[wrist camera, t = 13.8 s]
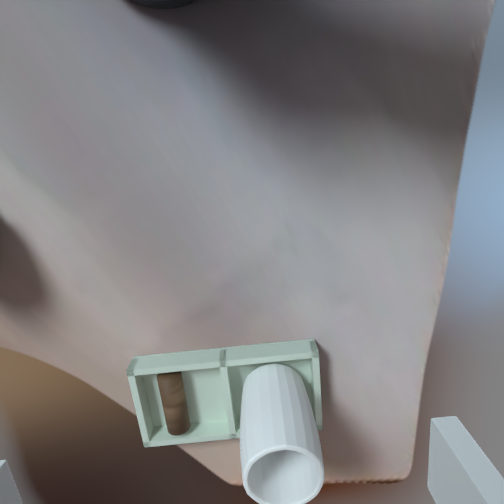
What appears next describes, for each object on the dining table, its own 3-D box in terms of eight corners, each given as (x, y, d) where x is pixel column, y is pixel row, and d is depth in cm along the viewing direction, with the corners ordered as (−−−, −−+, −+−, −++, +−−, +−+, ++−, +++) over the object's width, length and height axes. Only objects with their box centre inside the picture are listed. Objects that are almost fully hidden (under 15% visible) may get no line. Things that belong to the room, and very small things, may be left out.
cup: (241, 354, 47) (240, 442, 34) (307, 356, 48) (332, 444, 34) (239, 410, 50) (238, 512, 36) (302, 411, 50) (323, 513, 36)
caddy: (133, 356, 48) (126, 370, 45) (314, 338, 47) (318, 351, 44) (149, 429, 51) (144, 447, 48) (318, 413, 51) (322, 429, 48)
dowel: (173, 364, 48) (152, 375, 46) (185, 373, 46) (163, 385, 44) (183, 414, 51) (163, 427, 49) (194, 426, 48) (174, 439, 47)
